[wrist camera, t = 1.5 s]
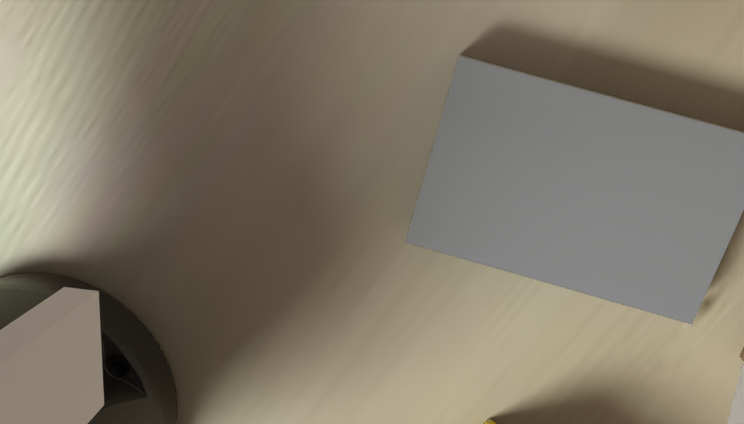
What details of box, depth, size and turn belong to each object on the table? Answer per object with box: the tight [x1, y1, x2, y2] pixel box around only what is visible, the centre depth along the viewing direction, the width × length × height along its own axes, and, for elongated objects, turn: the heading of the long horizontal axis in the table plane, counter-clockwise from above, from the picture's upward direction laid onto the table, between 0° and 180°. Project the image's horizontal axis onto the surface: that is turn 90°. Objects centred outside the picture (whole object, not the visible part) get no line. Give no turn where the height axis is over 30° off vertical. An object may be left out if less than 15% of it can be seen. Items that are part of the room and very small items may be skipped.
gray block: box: [406, 55, 744, 324], centre depth 30 cm, size 14×9×3 cm, turn 75°
